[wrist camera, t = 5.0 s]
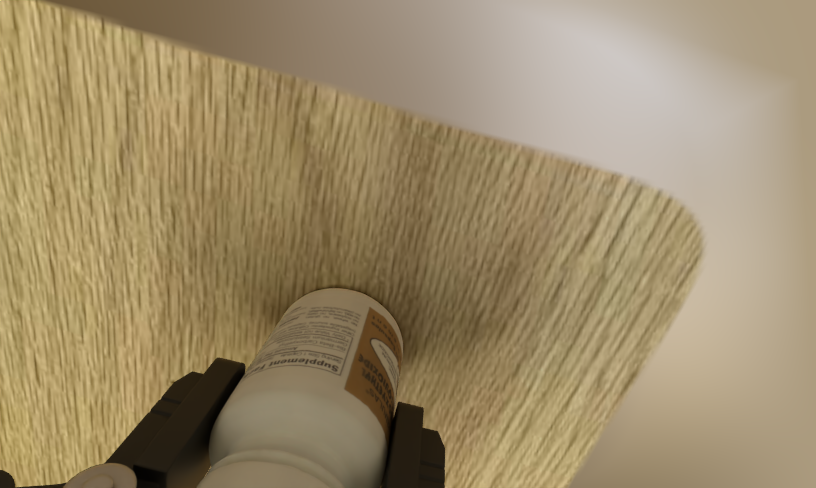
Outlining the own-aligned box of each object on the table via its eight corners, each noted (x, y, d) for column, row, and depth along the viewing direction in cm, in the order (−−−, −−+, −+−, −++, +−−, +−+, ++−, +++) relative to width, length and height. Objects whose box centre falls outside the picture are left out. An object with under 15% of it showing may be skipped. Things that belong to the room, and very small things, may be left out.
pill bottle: (406, 391, 16) (371, 652, 9) (289, 385, 16) (167, 632, 9) (404, 285, 14) (359, 504, 7) (274, 281, 15) (111, 486, 8)
